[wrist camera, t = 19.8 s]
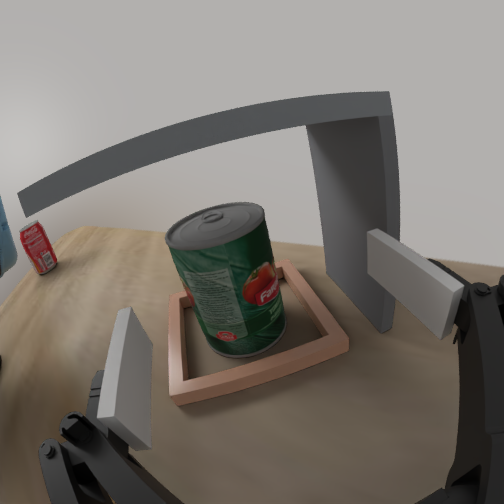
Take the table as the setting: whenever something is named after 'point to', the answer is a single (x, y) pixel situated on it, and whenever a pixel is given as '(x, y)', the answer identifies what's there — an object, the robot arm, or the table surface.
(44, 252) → the soda can
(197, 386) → the pink square frame
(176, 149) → the awning
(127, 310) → the robot arm
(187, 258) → the canned tomato
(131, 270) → the table surface
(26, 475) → the table surface
